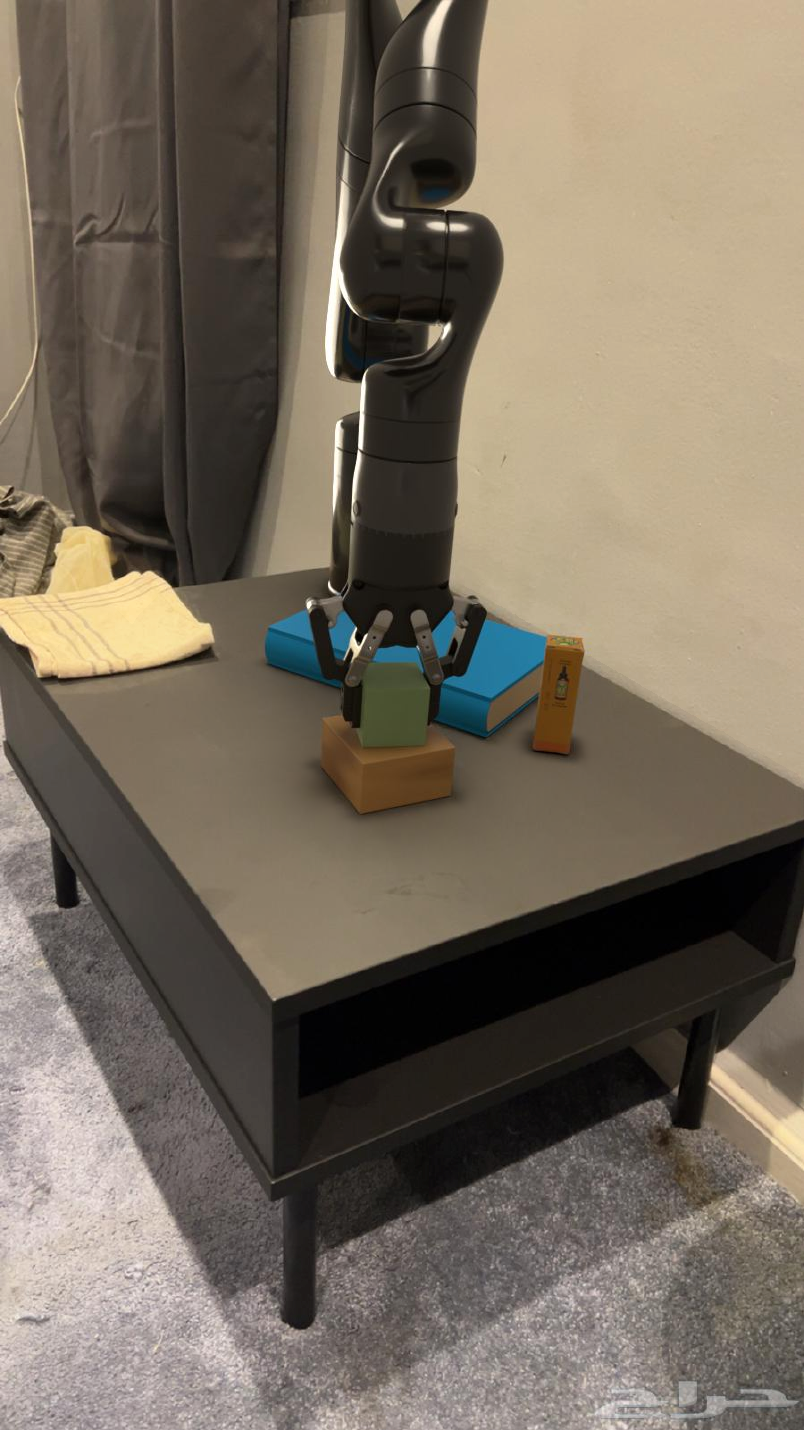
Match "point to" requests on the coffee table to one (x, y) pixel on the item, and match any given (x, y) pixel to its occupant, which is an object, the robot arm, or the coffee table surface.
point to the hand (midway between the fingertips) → (388, 721)
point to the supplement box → (558, 693)
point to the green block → (393, 705)
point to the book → (471, 702)
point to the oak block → (385, 768)
